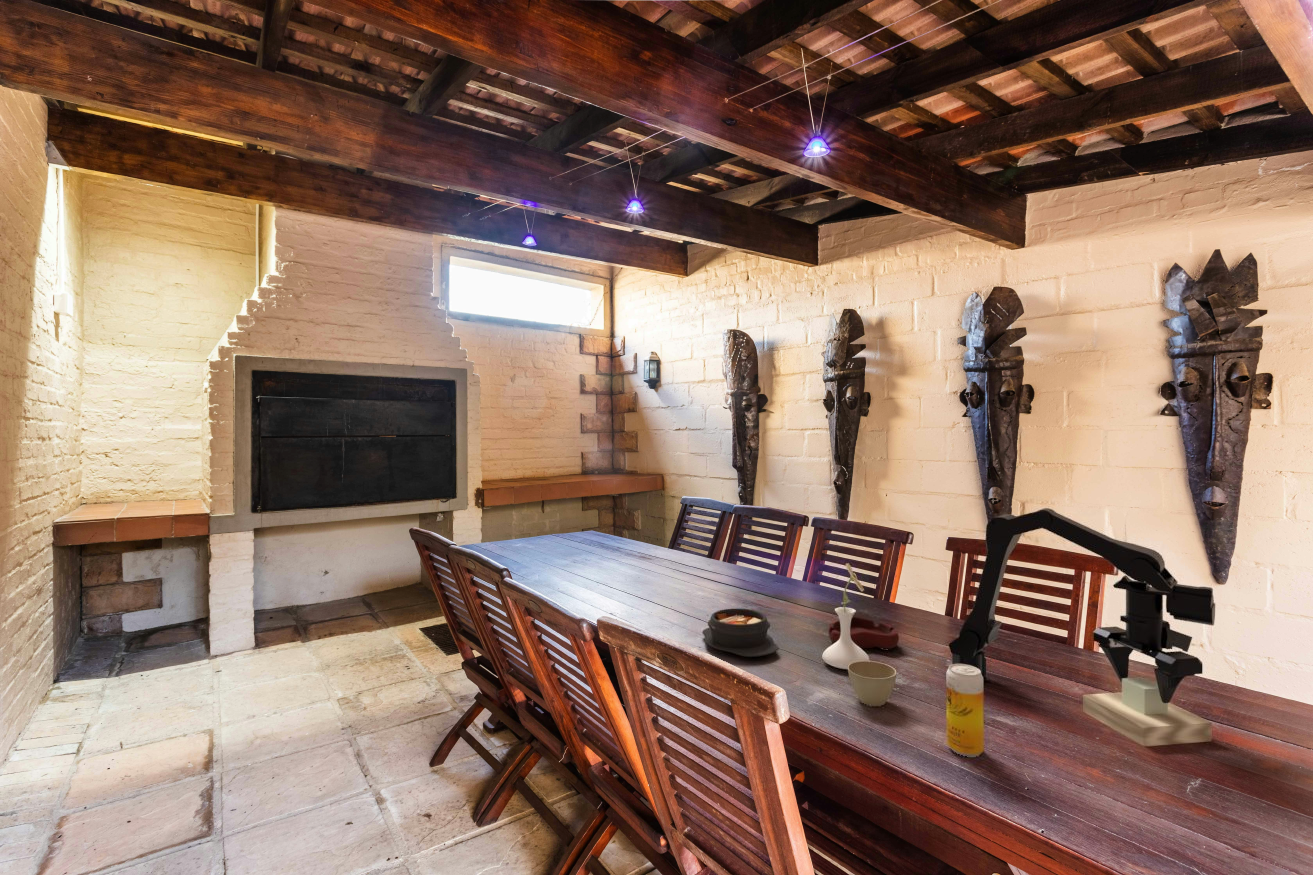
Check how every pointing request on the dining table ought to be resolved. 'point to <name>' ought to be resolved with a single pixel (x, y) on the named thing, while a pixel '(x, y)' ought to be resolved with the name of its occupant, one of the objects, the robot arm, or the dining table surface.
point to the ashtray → (866, 633)
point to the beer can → (965, 710)
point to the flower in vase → (845, 635)
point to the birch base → (1147, 721)
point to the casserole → (740, 632)
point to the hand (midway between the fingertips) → (1143, 692)
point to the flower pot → (872, 681)
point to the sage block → (1142, 696)
